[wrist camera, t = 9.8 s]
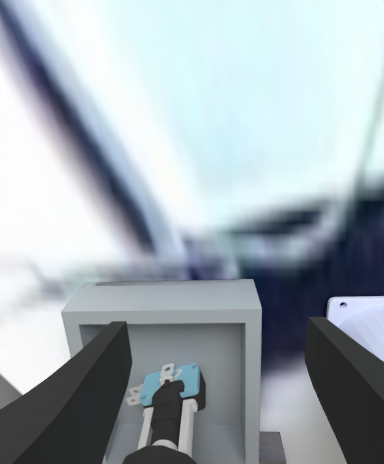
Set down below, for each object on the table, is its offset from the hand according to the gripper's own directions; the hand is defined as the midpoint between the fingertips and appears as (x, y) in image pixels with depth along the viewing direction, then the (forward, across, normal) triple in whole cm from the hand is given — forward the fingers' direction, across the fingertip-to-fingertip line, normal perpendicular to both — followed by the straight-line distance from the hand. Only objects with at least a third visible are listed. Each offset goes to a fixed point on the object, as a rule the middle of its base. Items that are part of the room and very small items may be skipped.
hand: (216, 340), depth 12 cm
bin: (+10, +4, +10) cm, 15 cm away
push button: (+10, +4, +12) cm, 16 cm away
